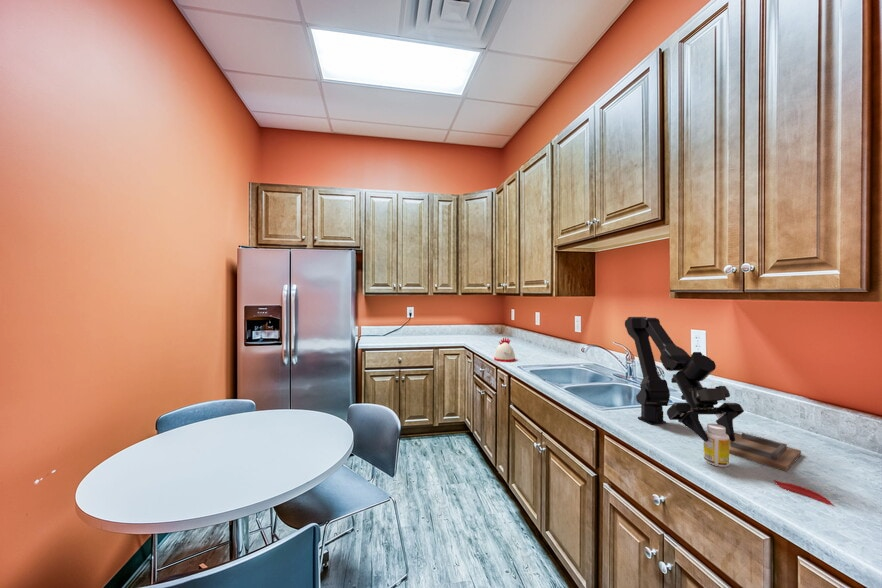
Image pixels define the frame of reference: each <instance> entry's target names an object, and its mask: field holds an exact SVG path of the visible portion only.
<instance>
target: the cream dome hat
mask: <svg viewBox="0 0 882 588" xmlns="http://www.w3.org/2000/svg"><path fill="white" fill-rule="evenodd" d="M510 342H511V339H510V338H509V337H503V338H502V339H500V340H499V341H498V343H499V345H497V347H496V348H495V352H494V354H493V355H494V357H493V361H496V362H501V363H510V362H511V363H512V362H515V361H516V355H515V351H514V348H513V347H512V346H511V345H510Z"/></svg>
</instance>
